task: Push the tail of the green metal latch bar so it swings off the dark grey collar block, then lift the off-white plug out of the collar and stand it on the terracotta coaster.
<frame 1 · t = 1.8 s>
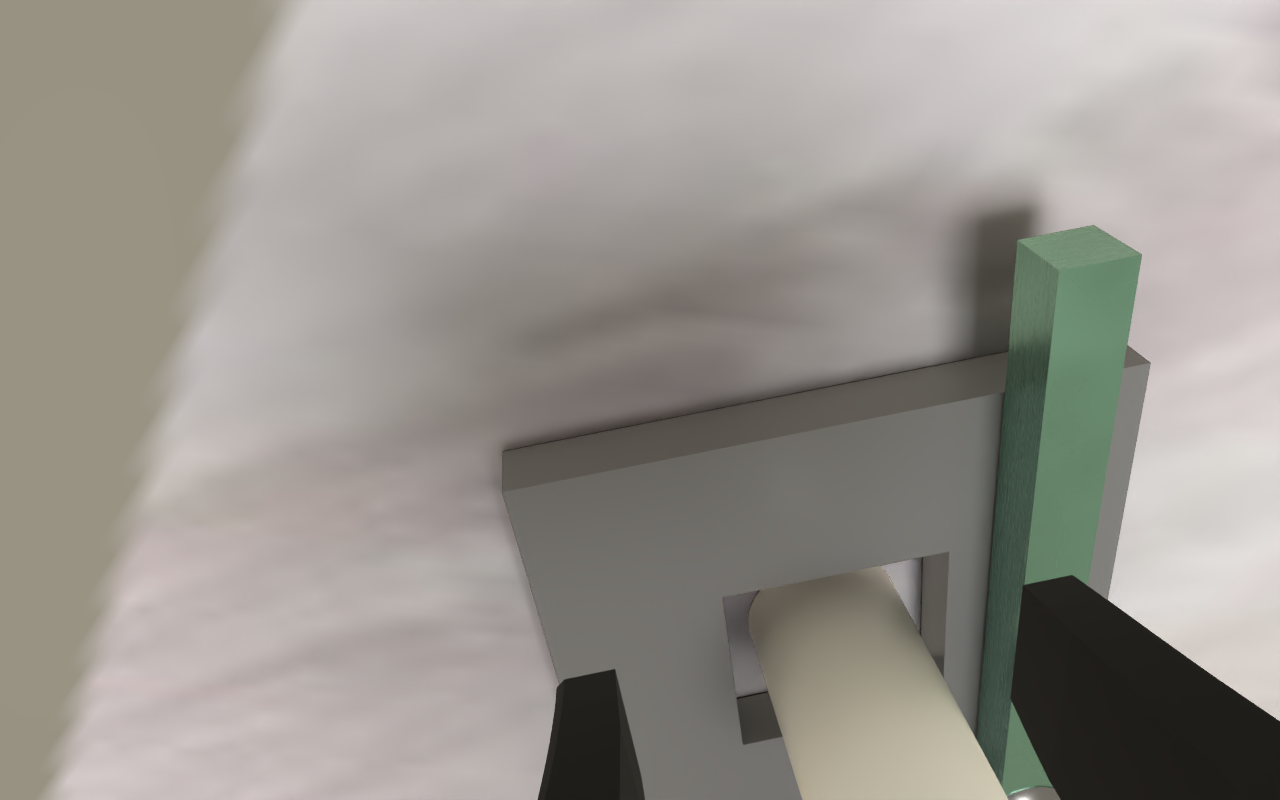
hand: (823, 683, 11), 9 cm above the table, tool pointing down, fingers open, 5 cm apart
plug: (874, 736, 20), in the collar block
latch bar: (1035, 595, 21), point 2 cm above the table, hinge at 0.0°
collar block: (821, 611, 23), on the table
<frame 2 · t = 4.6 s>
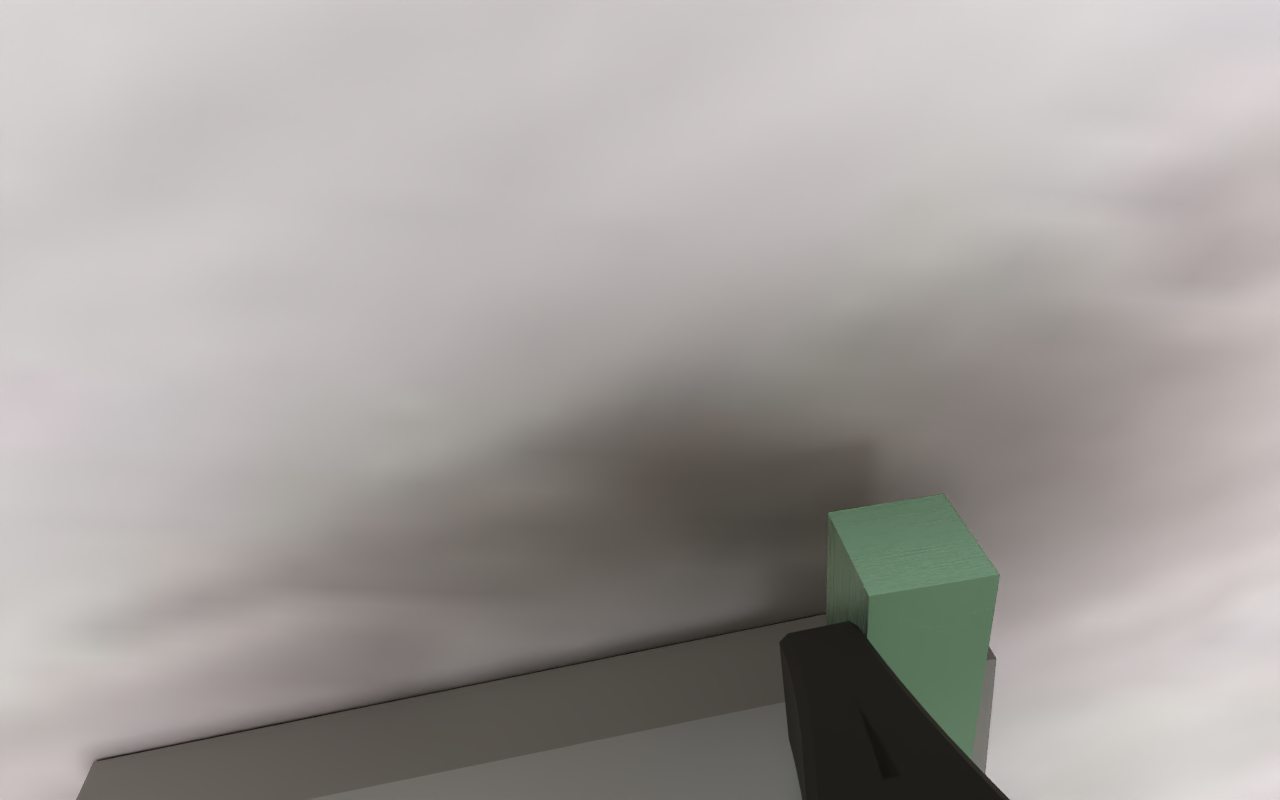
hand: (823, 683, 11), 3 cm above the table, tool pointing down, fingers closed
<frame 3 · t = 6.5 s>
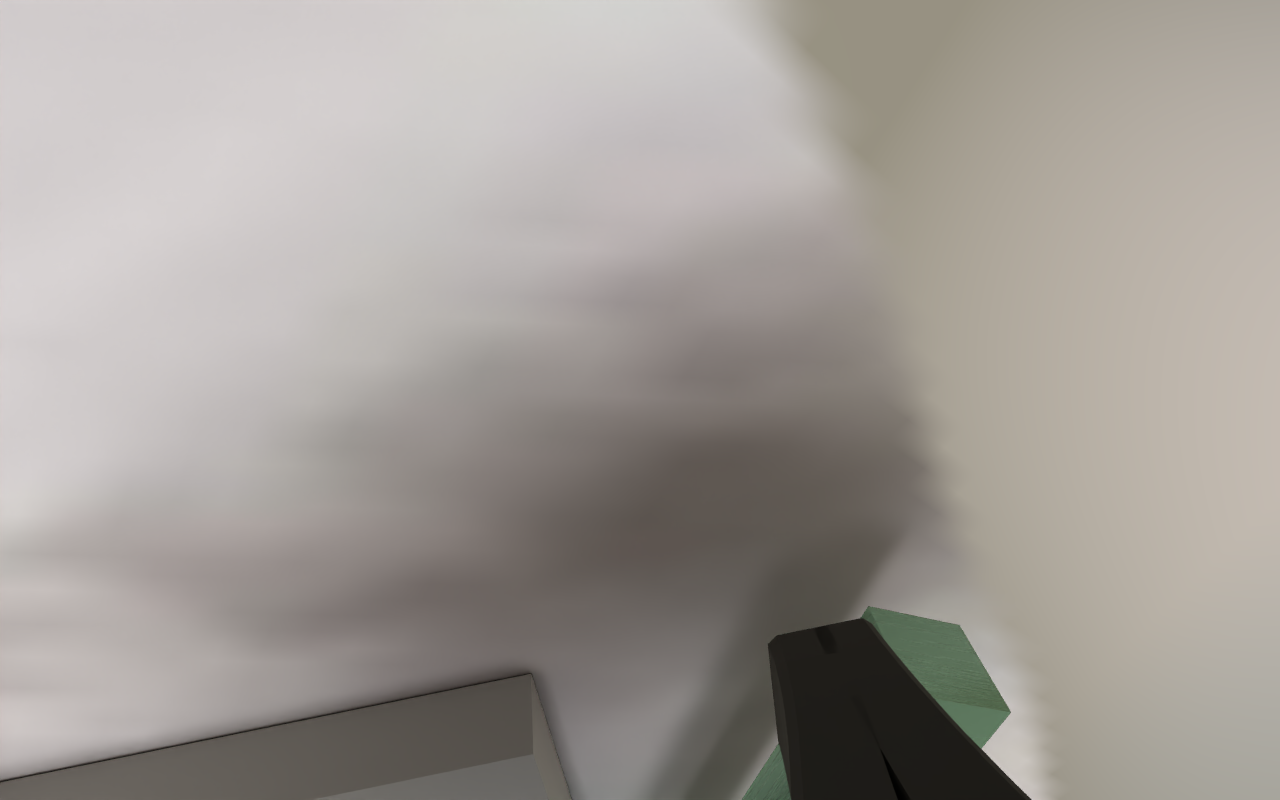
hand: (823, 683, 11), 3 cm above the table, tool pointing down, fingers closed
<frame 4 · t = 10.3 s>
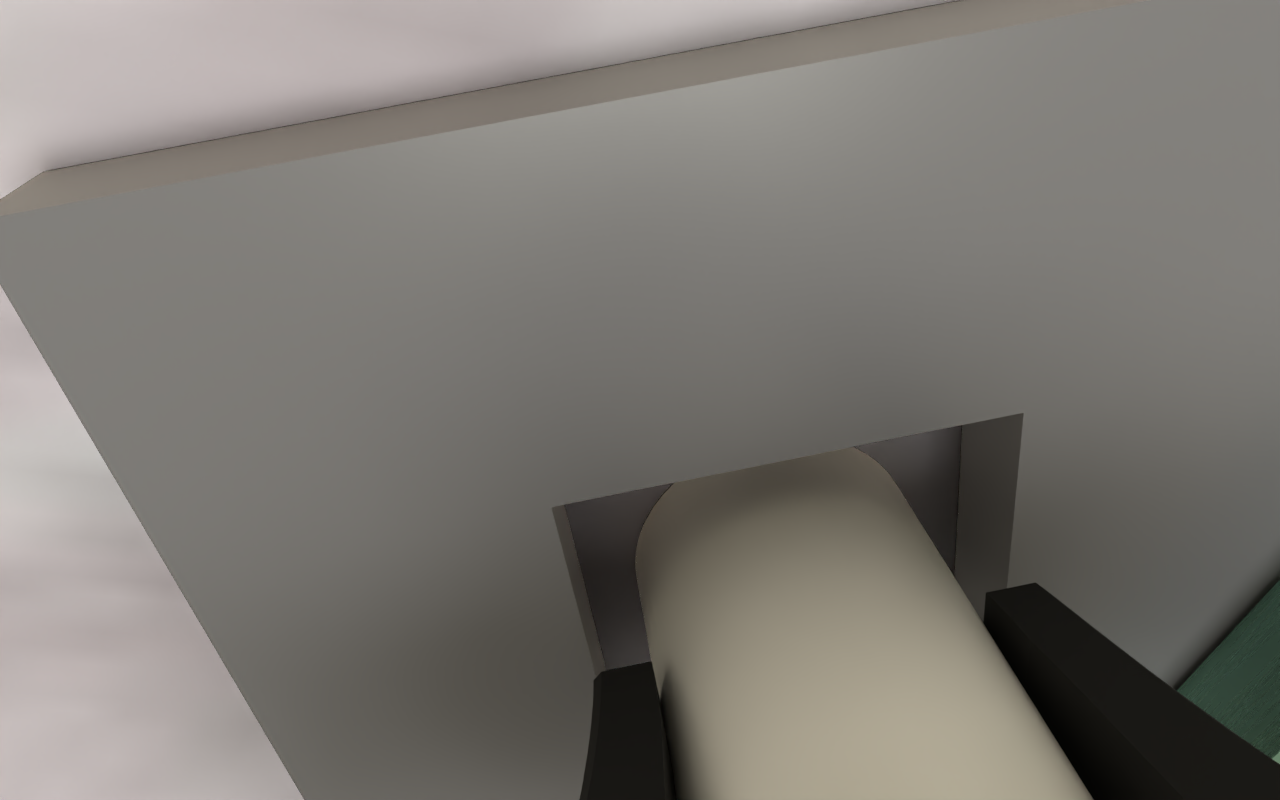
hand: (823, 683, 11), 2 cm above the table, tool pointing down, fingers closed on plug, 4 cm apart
collar block: (772, 552, 13), on the table
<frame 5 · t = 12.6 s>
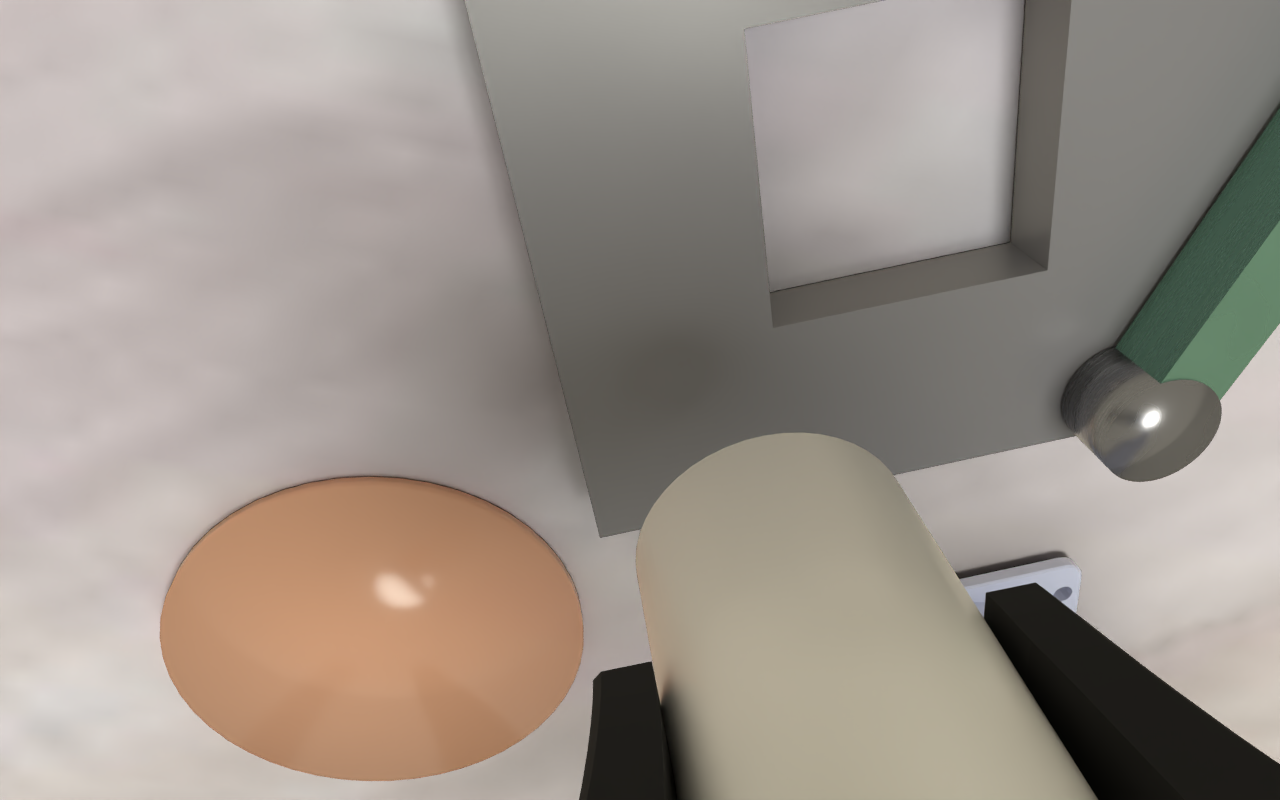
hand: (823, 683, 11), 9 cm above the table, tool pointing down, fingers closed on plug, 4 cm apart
coaster: (382, 639, 22), on the table
plug: (869, 797, 9), point 11 cm above the table, touching gripper
collar block: (880, 139, 17), on the table
when the fingers open (4 cm above the table, at t = 14.9 s): plug stays where it is, resting on coaster.
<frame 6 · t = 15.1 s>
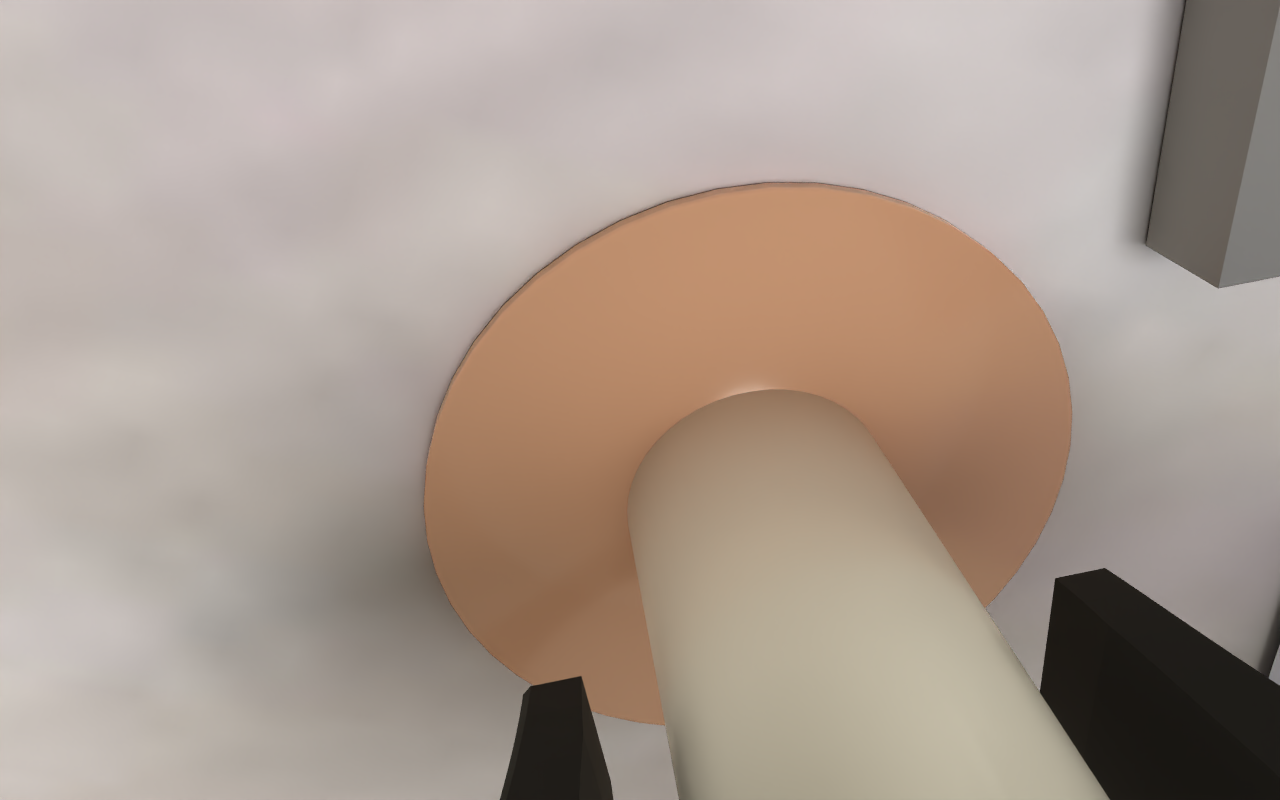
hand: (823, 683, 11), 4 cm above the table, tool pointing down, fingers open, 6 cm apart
coaster: (750, 493, 14), on the table
plug: (841, 714, 10), on the coaster
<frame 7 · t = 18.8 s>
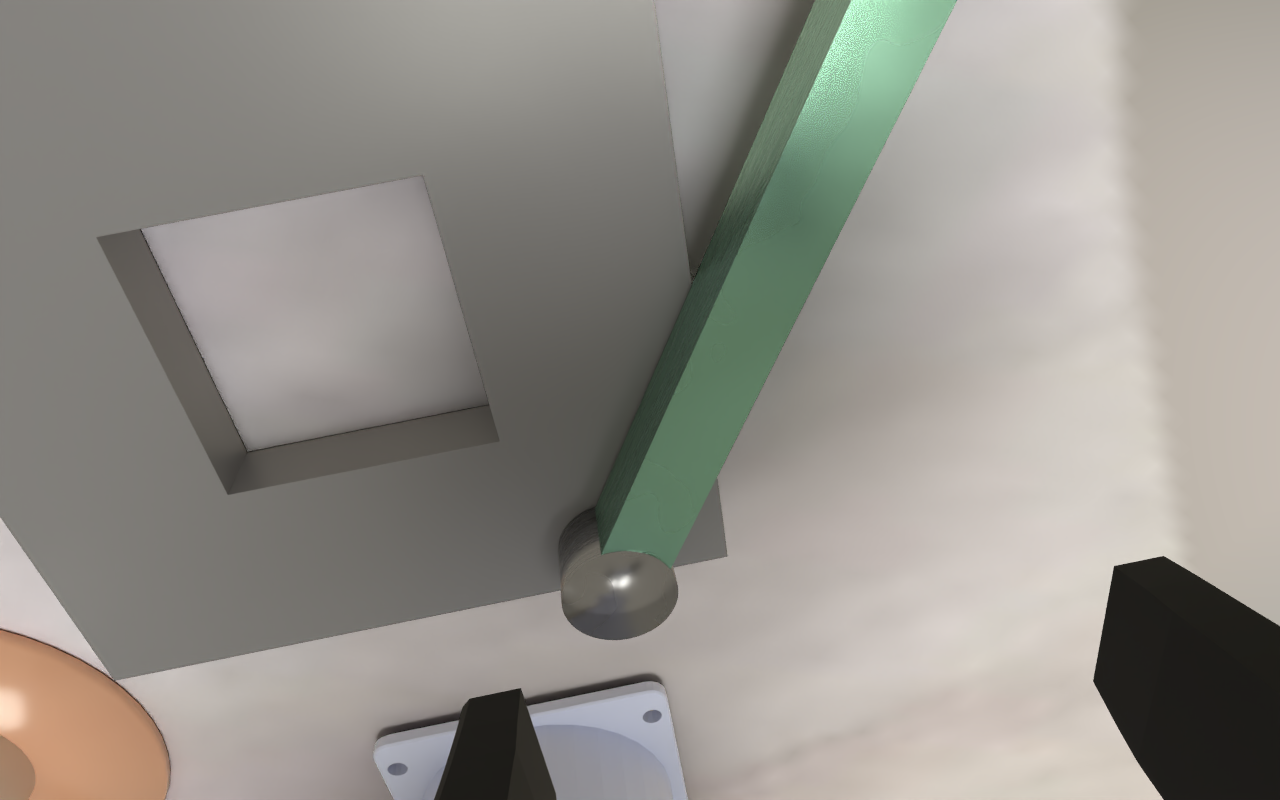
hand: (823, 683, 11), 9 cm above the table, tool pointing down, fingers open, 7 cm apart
latch bar: (767, 247, 15), point 2 cm above the table, hinge at -29.7°
collar block: (331, 313, 17), on the table
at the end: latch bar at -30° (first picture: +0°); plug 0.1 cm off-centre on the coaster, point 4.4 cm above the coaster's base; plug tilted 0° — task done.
